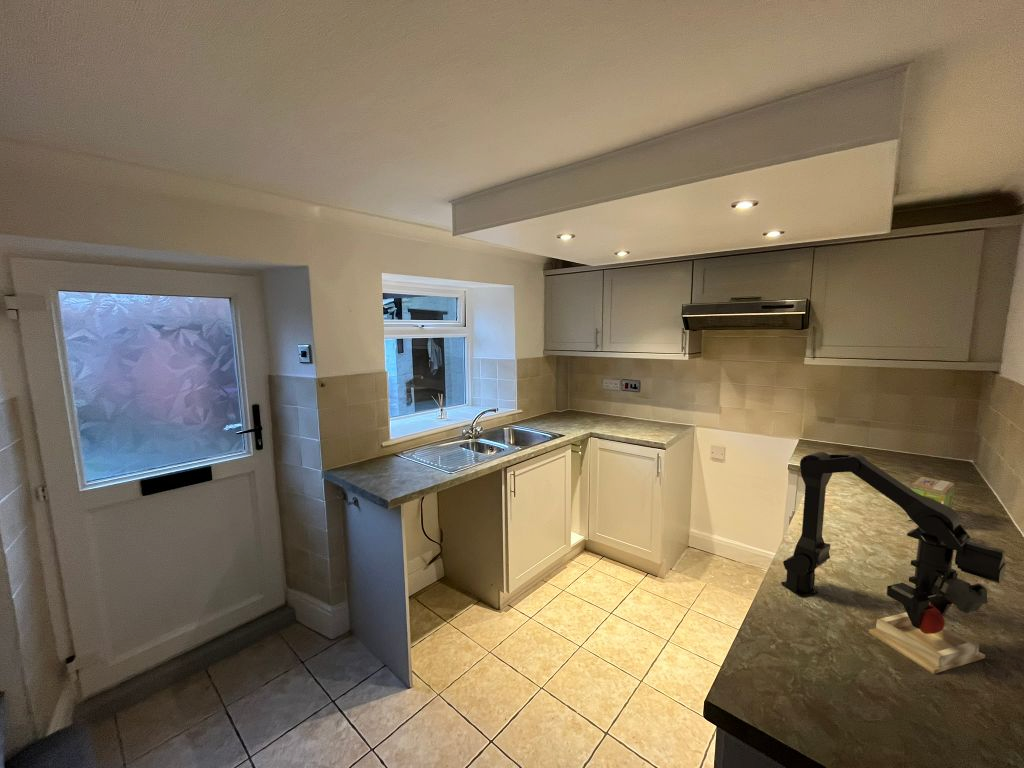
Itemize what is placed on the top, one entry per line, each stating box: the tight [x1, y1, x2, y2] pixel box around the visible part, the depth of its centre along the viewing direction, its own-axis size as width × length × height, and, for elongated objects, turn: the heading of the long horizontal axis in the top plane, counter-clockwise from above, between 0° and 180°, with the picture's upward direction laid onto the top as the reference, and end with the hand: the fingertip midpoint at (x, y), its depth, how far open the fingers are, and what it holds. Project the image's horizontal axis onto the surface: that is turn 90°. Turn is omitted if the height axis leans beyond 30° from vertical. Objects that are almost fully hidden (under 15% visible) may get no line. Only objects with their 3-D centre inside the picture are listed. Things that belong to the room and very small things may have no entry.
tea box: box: [906, 475, 956, 519], centre depth 164 cm, size 15×10×15 cm, turn 126°
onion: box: [919, 602, 946, 634], centre depth 99 cm, size 6×6×8 cm
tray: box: [868, 611, 986, 675], centre depth 99 cm, size 16×13×3 cm
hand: (925, 624), depth 99 cm, fingers closed on onion, 6 cm apart
